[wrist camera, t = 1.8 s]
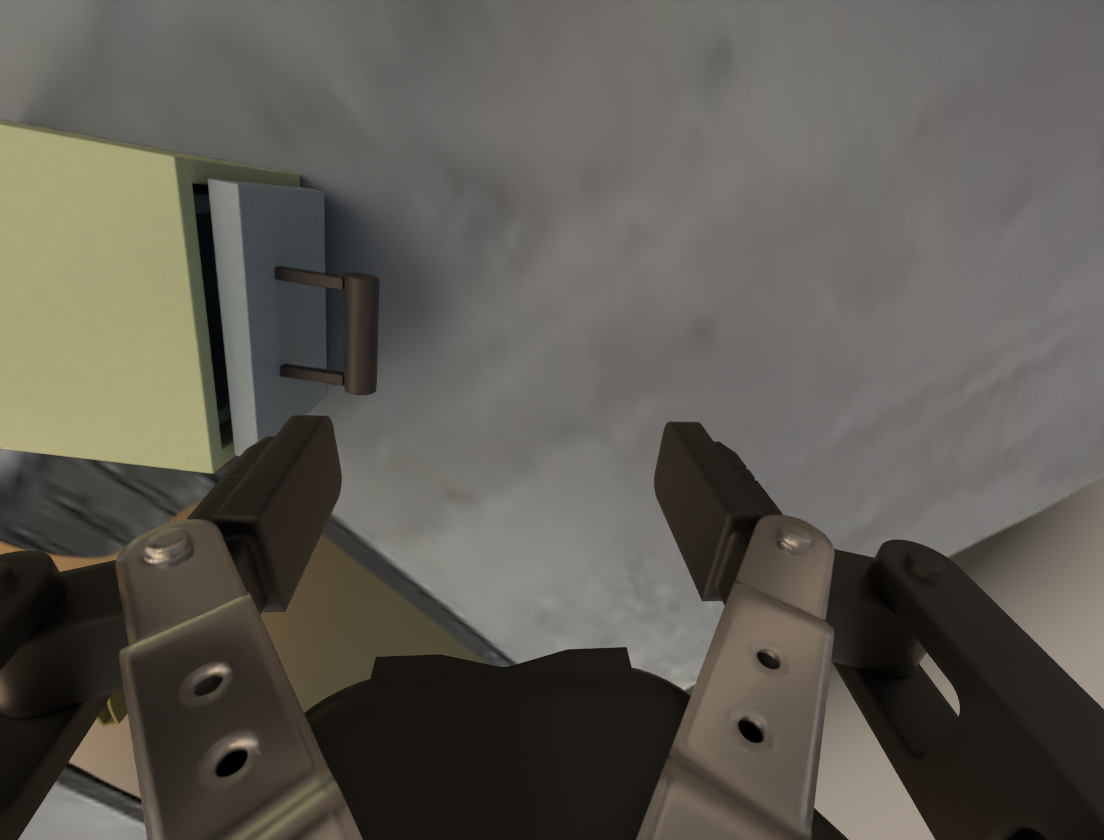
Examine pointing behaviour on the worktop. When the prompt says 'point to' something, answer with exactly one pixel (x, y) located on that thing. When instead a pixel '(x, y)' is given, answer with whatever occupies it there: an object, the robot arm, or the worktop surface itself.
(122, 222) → the cabinet
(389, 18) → the worktop surface
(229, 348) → the drawer
